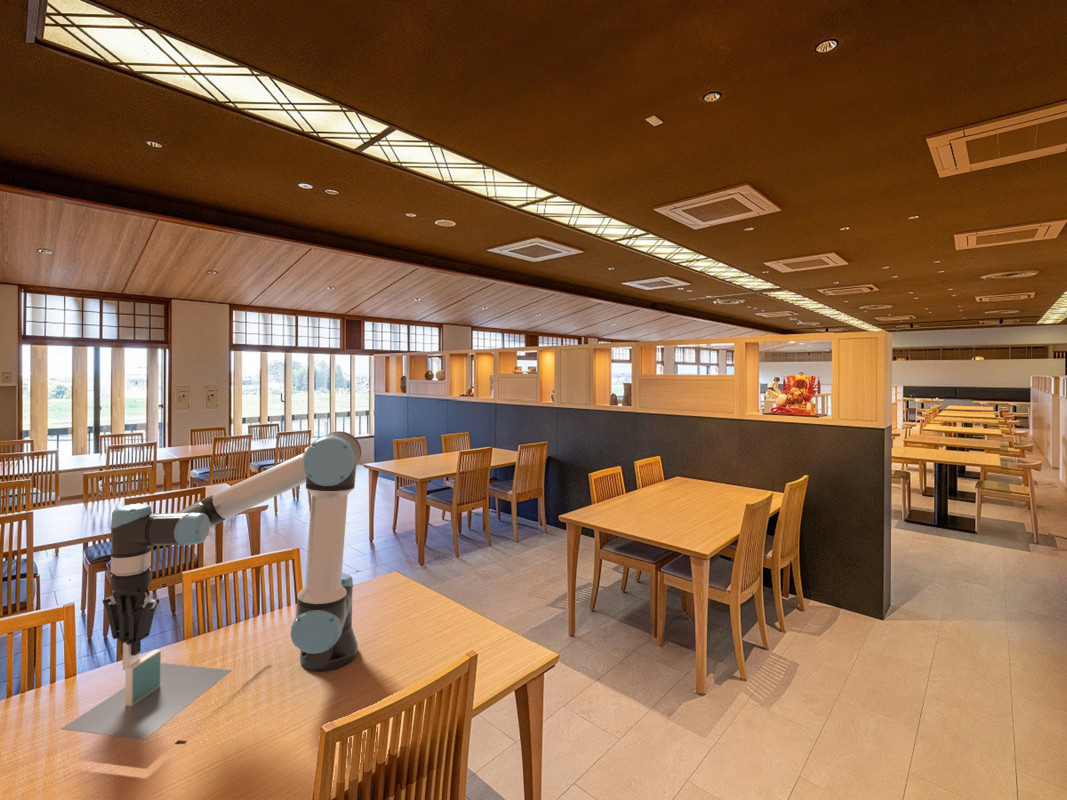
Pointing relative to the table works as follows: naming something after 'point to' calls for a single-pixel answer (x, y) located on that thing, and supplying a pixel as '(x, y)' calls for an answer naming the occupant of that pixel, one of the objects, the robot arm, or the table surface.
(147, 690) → the tile
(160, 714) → the slate board
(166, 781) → the table surface
